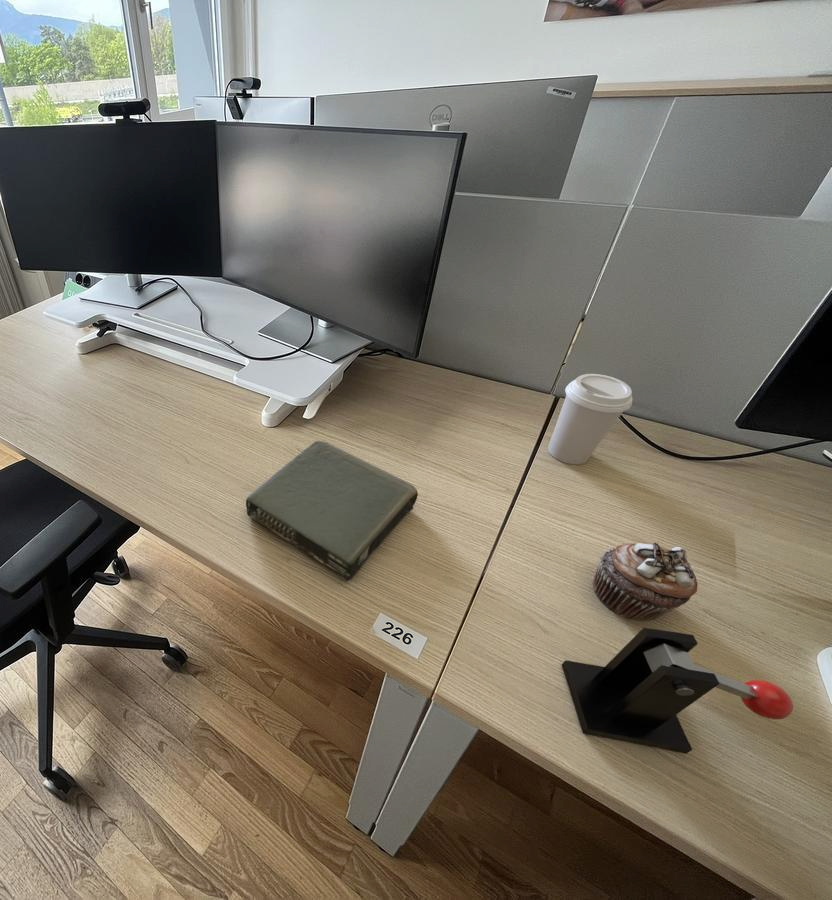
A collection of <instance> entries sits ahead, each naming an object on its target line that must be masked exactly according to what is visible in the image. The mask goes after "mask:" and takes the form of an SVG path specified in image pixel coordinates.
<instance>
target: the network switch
mask: <svg viewBox="0 0 832 900" xmlns="http://www.w3.org/2000/svg"><path fill="white" fill-rule="evenodd" d="M418 495H419V494H418V490H417V488H416V487H415V486H414V484H412V483H410V482H408V481H406V480H404V479H402V478H400V477H398V476H397V475H394V474H392V473H390V472H388V471H386V470H384V469H382V468H380V467H378V466H376V465H375V464H373V463H370V462H368V461H366V460H364V459H362V458H361V457H358V456H356V455H354V454H353V453H350V452H347V451H345V450H344V449H341V448H340V447H337V446H335V445H334V444H331V443H330V442H327V441H325V440H316V441H314V442H313V443H311V444H310V445H309V446H308V447H306V448H304V449H303V450H302V451H301V452H300V453H298V455H296V456H294V458H293V459H291V460H290V461H288V462H287V463H286V464H285V465H283V466H282V467H281V468H280V469H279V470H278V471H276V472H275V473H274V474H273V475H272V476H270V477H269V478H268V479H267V480H266V481H264V482H263V483H262V484H261V485H260V486H259V487H257V488H256V489H255V490H254V491H253V492H252V493H250V494H249V495H248V496H247V497H246V499H245V507H246V515H247V516H248V517H250V518H252V519H253V520H255V521H256V522H257V523H259V524H260V525H261V526H264V527H265V528H267V529H269V530H270V531H271V532H273V533H274V534H276V535H277V536H279V537H280V538H281V539H283V540H285V541H287V542H289V544H293V545H294V546H295V547H297V548H298V549H299V550H301V551H303V553H306V554H307V555H308V556H309V557H311V558H313V559H315V560H316V561H318V562H319V563H321V565H324V566H326V567H328V568H329V569H331V570H332V571H334V572H336V574H337V573H338V574H339V575H341V576H343V577H344V579H345V581H349V580H351V579H352V578H353V577H354V576H355V575H356V574H357V573H358V571H359V570H360V569H361V568H362V566H363V565H364V563H366V561H367V560H368V559H369V557H370V556H371V555H372V553H374V551H375V550H376V549H377V548H378V547H379V546H380V545H381V544H382V543H383V541H384V540H385V539H386V537H388V535H389V534H390V533H391V532H392V531H393V530H394V529H395V528H396V526H398V524H399V523H400V522H401V521H402V520H403V518H404V517H406V515H407V514H408V512H411V511H413V510H414V505H415V504H416V502H417V499H418Z"/></svg>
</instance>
